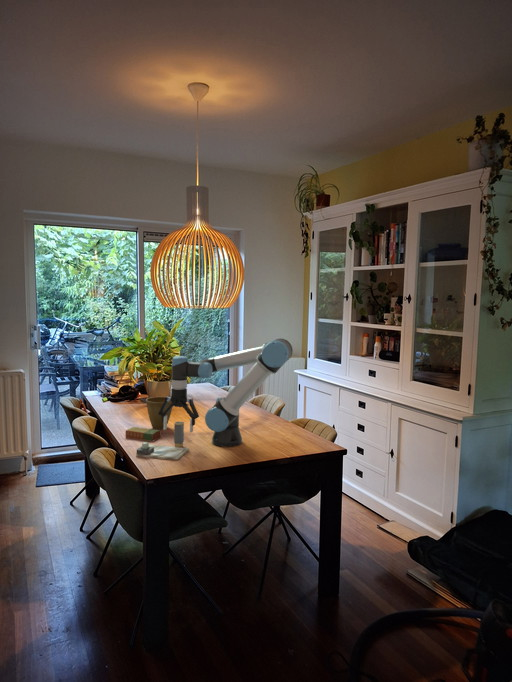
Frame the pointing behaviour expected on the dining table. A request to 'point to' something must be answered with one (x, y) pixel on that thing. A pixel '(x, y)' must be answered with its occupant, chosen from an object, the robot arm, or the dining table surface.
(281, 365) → the robot arm
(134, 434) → the carton
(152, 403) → the plant pot
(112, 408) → the dining table surface
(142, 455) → the white tray
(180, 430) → the grey rectangular bar
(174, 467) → the dining table surface
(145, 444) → the button
